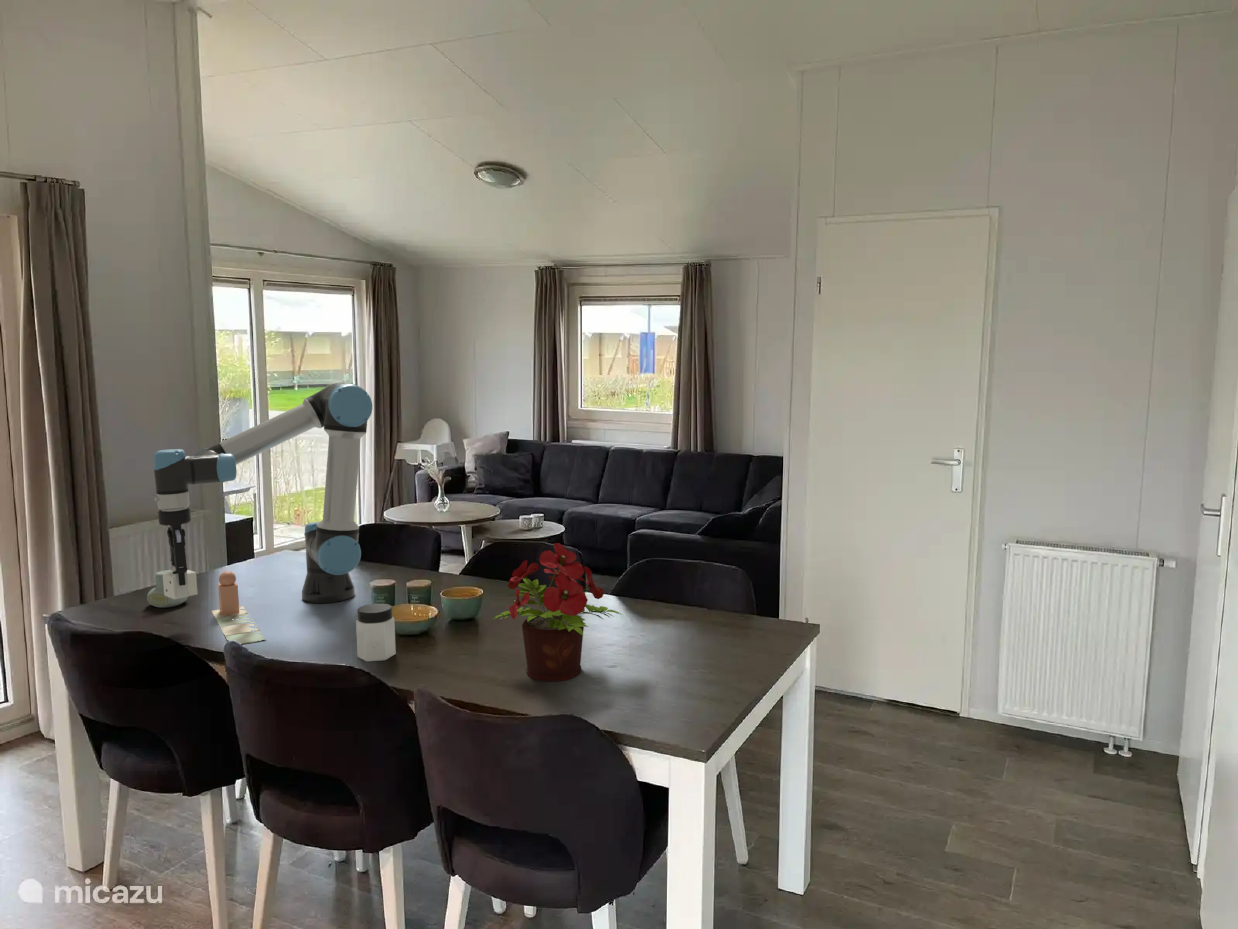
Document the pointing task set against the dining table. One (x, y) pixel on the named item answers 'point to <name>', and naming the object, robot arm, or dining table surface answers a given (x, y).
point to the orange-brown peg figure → (228, 593)
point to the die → (170, 584)
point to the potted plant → (554, 615)
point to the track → (237, 627)
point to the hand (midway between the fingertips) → (181, 593)
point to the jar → (375, 632)
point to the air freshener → (162, 594)
